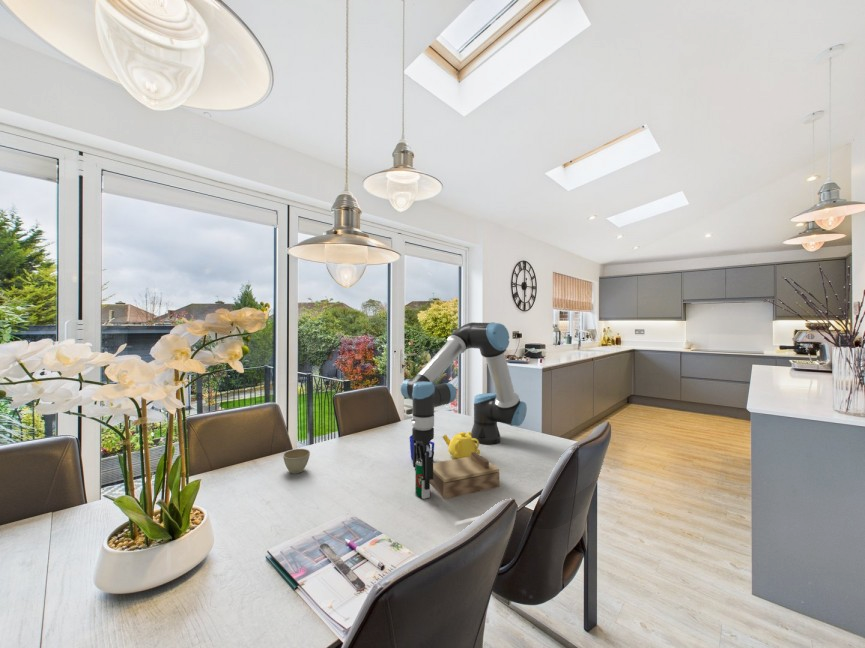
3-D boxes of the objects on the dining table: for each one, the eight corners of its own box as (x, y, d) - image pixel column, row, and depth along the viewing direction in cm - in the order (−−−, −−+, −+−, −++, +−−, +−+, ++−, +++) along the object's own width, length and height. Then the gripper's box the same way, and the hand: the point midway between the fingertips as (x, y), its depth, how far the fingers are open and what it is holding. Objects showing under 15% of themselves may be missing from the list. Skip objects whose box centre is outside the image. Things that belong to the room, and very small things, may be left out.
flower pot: (280, 477, 135) (280, 459, 135) (285, 466, 145) (285, 449, 144) (308, 475, 137) (308, 457, 137) (311, 465, 147) (311, 447, 146)
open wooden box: (478, 473, 140) (478, 458, 140) (499, 489, 127) (499, 472, 127) (427, 483, 131) (427, 467, 131) (444, 501, 118) (444, 483, 118)
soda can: (423, 489, 126) (423, 456, 126) (432, 494, 123) (433, 460, 122) (412, 494, 123) (412, 460, 123) (421, 499, 119) (422, 464, 119)
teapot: (470, 449, 165) (470, 426, 165) (483, 460, 153) (483, 435, 152) (441, 453, 161) (441, 429, 161) (452, 465, 148) (453, 438, 148)
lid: (478, 457, 140) (479, 449, 140) (499, 471, 127) (499, 462, 127) (427, 466, 131) (428, 457, 131) (444, 482, 118) (444, 472, 118)
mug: (427, 467, 145) (427, 443, 145) (405, 460, 152) (405, 437, 152) (439, 461, 151) (439, 438, 151) (417, 454, 159) (417, 432, 159)
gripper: (404, 421, 129) (403, 484, 129) (423, 436, 113) (422, 508, 113) (423, 419, 132) (422, 480, 132) (444, 433, 116) (443, 504, 116)
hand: (422, 493), depth 123 cm, fingers closed on soda can, 5 cm apart
